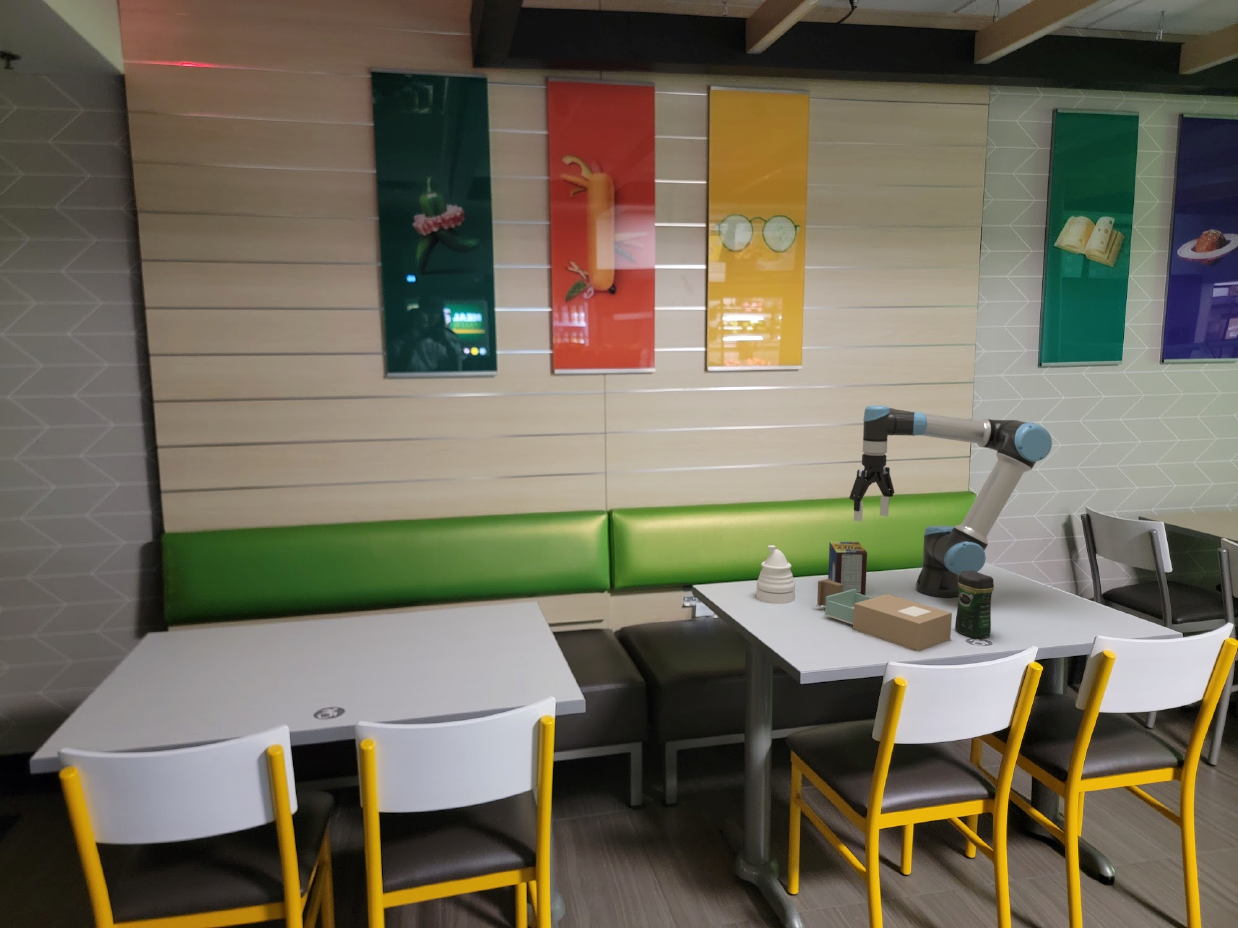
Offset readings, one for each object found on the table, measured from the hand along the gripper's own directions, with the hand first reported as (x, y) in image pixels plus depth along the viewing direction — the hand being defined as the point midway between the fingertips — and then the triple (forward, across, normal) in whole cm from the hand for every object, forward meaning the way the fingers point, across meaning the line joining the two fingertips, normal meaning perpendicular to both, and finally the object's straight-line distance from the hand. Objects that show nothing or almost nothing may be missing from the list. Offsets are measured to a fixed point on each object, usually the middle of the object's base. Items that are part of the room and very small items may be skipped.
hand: (871, 518), depth 263 cm
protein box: (+29, -7, -14) cm, 33 cm away
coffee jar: (+29, -2, +36) cm, 46 cm away
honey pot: (+29, +20, -22) cm, 42 cm away
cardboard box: (+29, +16, +24) cm, 41 cm away
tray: (+28, +16, +9) cm, 33 cm away
